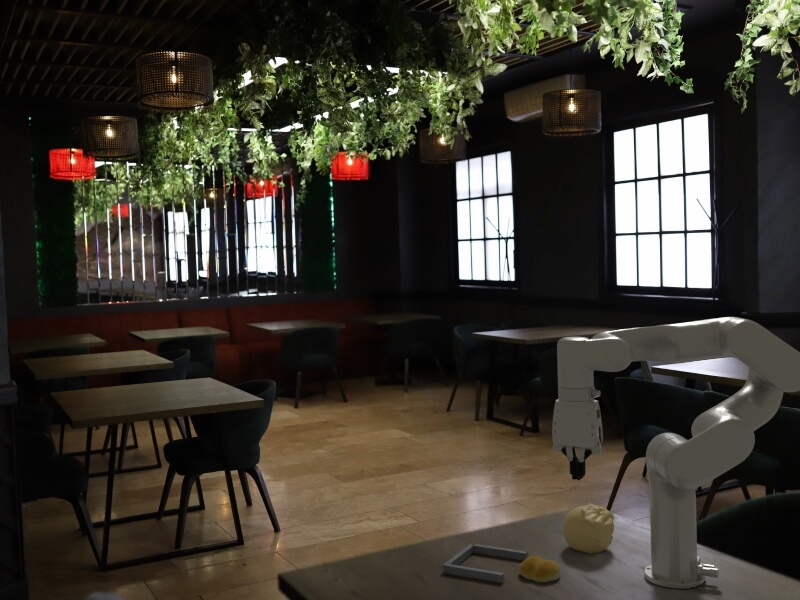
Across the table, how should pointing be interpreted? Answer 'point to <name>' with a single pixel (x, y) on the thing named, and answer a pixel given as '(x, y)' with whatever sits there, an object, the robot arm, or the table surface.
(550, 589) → the table surface
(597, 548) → the pale yellow rounded lump
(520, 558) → the bay
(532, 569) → the bread roll
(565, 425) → the robot arm
